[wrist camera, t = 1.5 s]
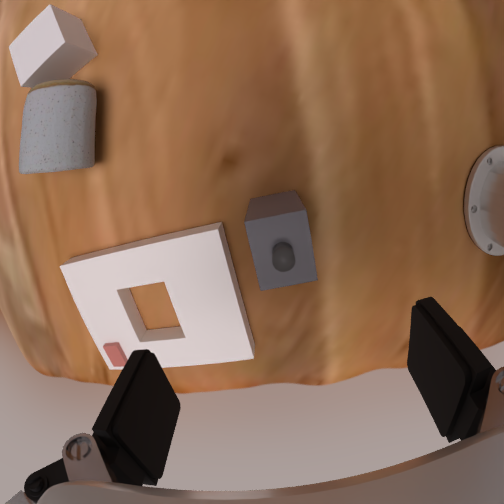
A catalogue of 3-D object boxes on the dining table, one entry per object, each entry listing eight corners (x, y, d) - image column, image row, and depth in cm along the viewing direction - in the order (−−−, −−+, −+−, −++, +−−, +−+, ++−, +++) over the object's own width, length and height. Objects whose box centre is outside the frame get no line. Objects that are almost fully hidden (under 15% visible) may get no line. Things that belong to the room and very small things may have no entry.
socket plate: (221, 221, 28) (216, 231, 25) (254, 344, 32) (253, 362, 29) (71, 257, 30) (56, 268, 27) (117, 357, 34) (107, 373, 32)
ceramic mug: (111, 83, 23) (65, 71, 16) (109, 164, 26) (61, 175, 19) (36, 99, 24) (-12, 98, 16) (35, 170, 27) (-13, 182, 19)
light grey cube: (98, 54, 22) (65, 42, 17) (57, 90, 23) (21, 87, 18) (81, 19, 20) (49, 3, 15) (42, 54, 22) (8, 46, 16)
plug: (294, 190, 26) (309, 215, 17) (304, 242, 28) (321, 290, 19) (250, 198, 27) (242, 229, 18) (262, 250, 29) (260, 302, 20)
